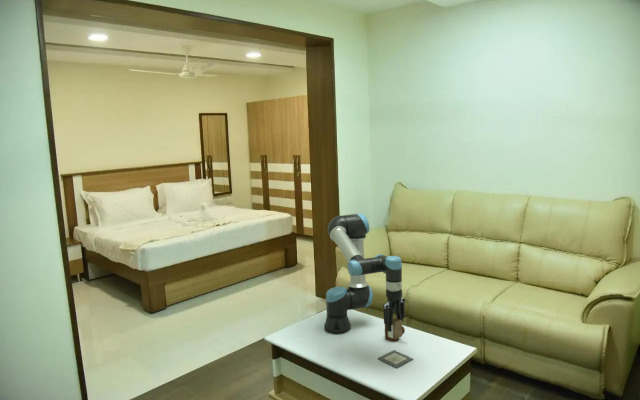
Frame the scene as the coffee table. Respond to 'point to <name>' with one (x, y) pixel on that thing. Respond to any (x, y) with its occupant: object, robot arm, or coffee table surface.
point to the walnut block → (396, 328)
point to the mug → (390, 337)
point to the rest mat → (395, 359)
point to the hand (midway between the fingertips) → (394, 335)
